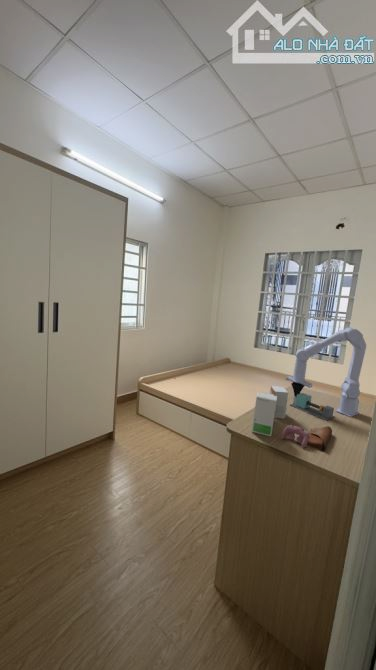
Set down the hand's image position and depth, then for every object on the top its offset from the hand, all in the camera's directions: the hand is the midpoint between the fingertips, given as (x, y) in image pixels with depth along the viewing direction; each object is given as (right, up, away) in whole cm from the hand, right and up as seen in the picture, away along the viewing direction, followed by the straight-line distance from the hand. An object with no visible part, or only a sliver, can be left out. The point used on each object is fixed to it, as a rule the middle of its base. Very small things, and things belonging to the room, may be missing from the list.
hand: (296, 396), depth 149 cm
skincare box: (-27, -8, -32) cm, 43 cm away
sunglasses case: (-5, -10, -36) cm, 37 cm away
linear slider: (+5, -6, -7) cm, 10 cm away
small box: (-15, -6, -14) cm, 22 cm away
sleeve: (+2, -5, -3) cm, 6 cm away
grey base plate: (+5, -6, -7) cm, 10 cm away
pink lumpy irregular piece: (-16, -10, -39) cm, 43 cm away
